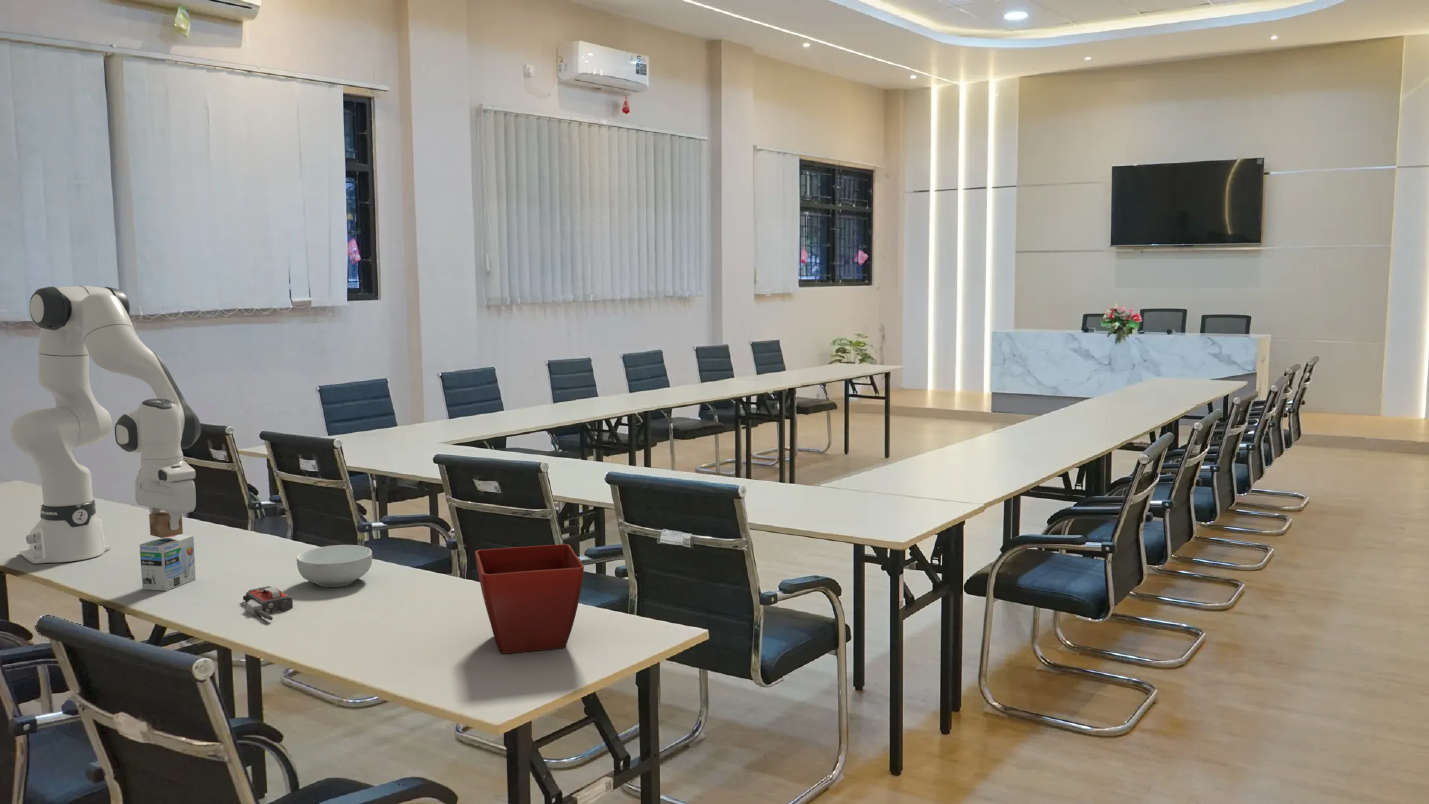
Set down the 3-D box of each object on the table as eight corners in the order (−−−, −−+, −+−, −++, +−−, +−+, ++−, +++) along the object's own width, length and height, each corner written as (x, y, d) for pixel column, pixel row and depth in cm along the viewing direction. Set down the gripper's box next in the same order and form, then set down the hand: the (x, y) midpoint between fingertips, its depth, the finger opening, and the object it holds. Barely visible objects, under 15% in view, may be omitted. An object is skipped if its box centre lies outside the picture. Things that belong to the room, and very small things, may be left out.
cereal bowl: (281, 587, 252) (280, 557, 252) (335, 570, 267) (333, 541, 266) (336, 596, 245) (335, 565, 244) (388, 578, 260) (387, 549, 259)
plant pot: (586, 652, 207) (585, 566, 205) (484, 662, 202) (482, 574, 200) (570, 622, 225) (569, 543, 224) (476, 631, 220) (474, 549, 218)
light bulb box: (166, 591, 249) (163, 545, 248) (140, 590, 250) (137, 544, 249) (197, 579, 259) (194, 535, 258) (172, 577, 261) (169, 533, 260)
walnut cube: (150, 535, 253) (149, 514, 252) (171, 531, 257) (170, 510, 257) (161, 538, 250) (160, 516, 250) (182, 533, 254) (181, 512, 254)
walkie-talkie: (233, 605, 240) (265, 626, 225) (232, 585, 239) (264, 605, 224) (273, 597, 246) (307, 617, 231) (272, 578, 245) (306, 597, 230)
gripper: (125, 466, 255) (129, 524, 257) (172, 475, 244) (176, 536, 245) (152, 463, 260) (155, 519, 262) (199, 471, 249) (203, 530, 250)
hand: (166, 527), depth 253 cm, fingers closed on walnut cube, 5 cm apart
